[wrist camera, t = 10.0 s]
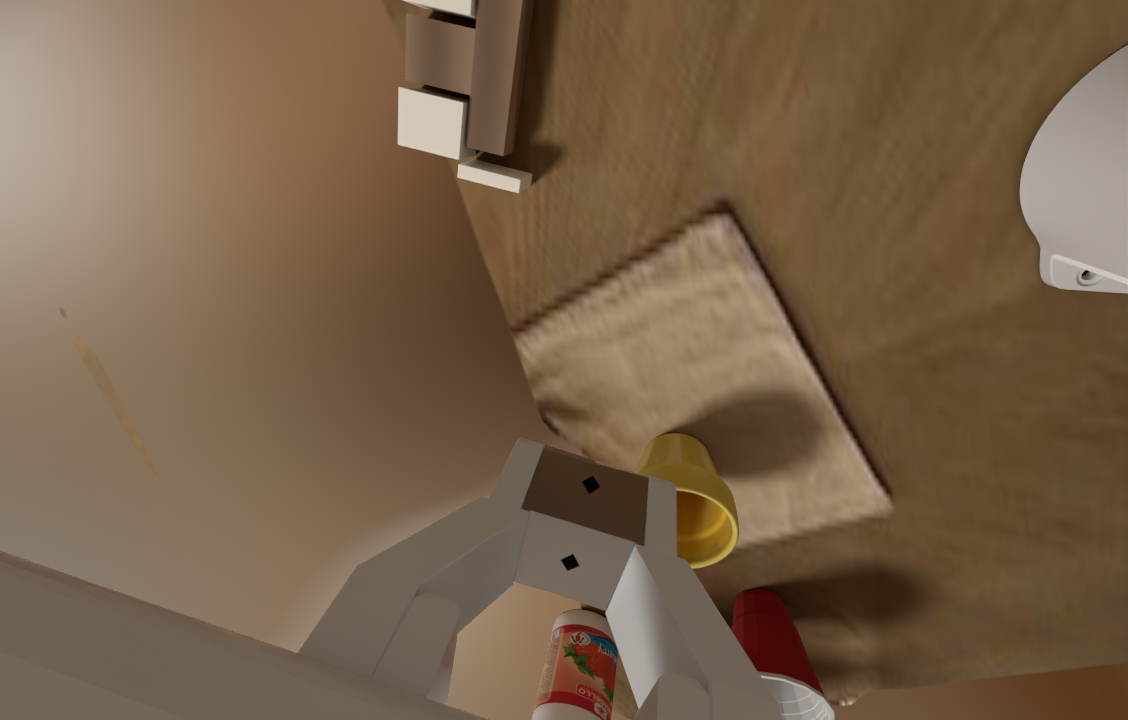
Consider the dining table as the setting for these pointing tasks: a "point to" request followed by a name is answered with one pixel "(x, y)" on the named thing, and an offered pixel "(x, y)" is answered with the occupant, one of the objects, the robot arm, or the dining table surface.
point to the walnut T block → (477, 67)
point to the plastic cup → (779, 655)
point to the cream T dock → (449, 120)
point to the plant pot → (694, 498)
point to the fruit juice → (578, 669)
